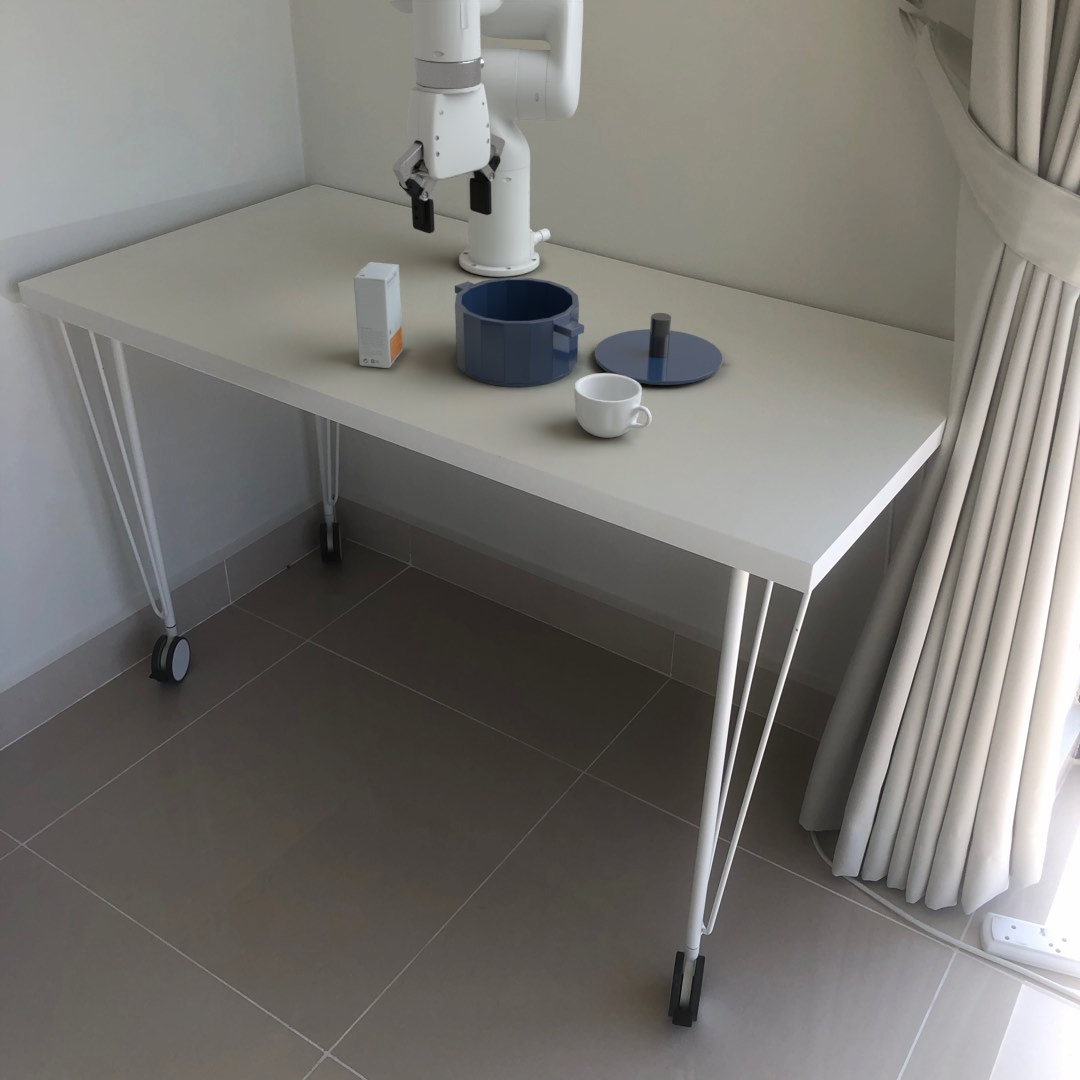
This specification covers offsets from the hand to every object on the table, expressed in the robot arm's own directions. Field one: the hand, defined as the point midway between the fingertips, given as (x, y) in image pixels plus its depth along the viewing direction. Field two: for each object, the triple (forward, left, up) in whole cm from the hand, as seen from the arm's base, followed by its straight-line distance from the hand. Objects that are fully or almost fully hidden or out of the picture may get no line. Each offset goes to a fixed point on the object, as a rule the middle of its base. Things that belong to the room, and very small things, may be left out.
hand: (452, 221), depth 143 cm
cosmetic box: (+7, -7, -18) cm, 21 cm away
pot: (-5, +6, -18) cm, 20 cm away
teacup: (+1, +28, -18) cm, 33 cm away
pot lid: (-18, +19, -18) cm, 32 cm away
